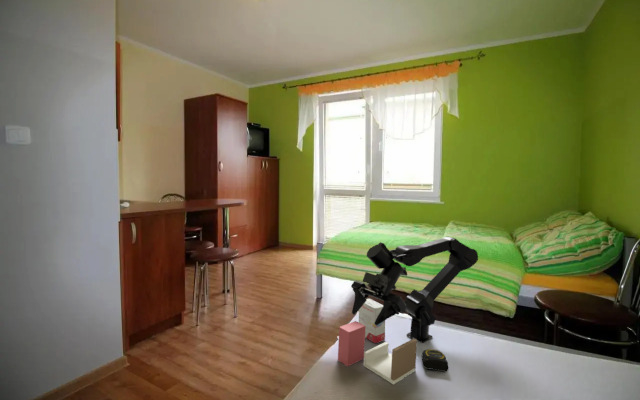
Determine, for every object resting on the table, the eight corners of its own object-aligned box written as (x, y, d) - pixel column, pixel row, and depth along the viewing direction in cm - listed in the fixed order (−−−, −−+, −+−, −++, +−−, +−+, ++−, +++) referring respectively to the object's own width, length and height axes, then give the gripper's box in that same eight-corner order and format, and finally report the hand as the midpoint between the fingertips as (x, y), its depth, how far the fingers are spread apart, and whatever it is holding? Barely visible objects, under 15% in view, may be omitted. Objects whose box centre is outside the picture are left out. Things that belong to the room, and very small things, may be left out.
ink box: (385, 340, 104) (387, 306, 104) (374, 344, 101) (376, 309, 101) (367, 330, 112) (369, 297, 111) (357, 333, 109) (358, 300, 108)
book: (354, 352, 96) (355, 320, 96) (363, 358, 93) (365, 325, 93) (337, 360, 92) (339, 326, 91) (347, 366, 89) (349, 332, 88)
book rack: (385, 354, 96) (386, 325, 95) (415, 370, 88) (417, 339, 87) (363, 365, 89) (365, 335, 89) (393, 384, 81) (395, 351, 81)
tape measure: (422, 371, 88) (423, 358, 88) (420, 358, 95) (421, 346, 94) (448, 375, 86) (449, 362, 86) (444, 362, 93) (445, 350, 93)
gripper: (356, 256, 105) (330, 295, 98) (403, 270, 91) (376, 315, 84) (370, 276, 110) (346, 313, 104) (416, 291, 96) (392, 336, 89)
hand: (363, 319), depth 95 cm, fingers open, 9 cm apart
